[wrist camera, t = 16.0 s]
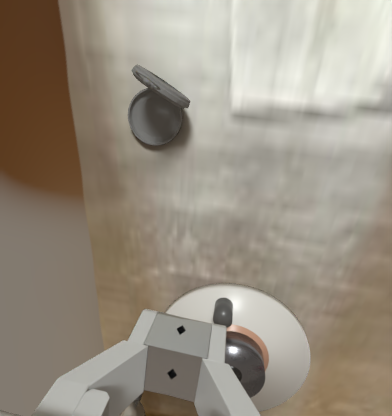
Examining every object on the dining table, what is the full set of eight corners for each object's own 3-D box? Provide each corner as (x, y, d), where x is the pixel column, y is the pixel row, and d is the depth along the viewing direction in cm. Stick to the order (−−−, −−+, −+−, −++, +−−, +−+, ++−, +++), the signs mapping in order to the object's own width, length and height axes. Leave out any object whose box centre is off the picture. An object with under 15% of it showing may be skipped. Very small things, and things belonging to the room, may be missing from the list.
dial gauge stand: (160, 347, 45) (133, 423, 34) (174, 370, 46) (153, 451, 35) (128, 357, 47) (93, 433, 36) (143, 379, 48) (113, 460, 37)
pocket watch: (132, 144, 36) (94, 153, 27) (127, 72, 34) (83, 54, 24) (195, 145, 35) (179, 154, 25) (195, 70, 32) (177, 50, 23)
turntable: (175, 259, 40) (164, 282, 34) (329, 302, 39) (344, 333, 33) (149, 372, 47) (137, 405, 42) (278, 412, 46) (283, 452, 40)
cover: (207, 323, 39) (205, 339, 36) (271, 341, 38) (274, 359, 35) (194, 371, 42) (191, 389, 39) (253, 388, 41) (254, 408, 38)
